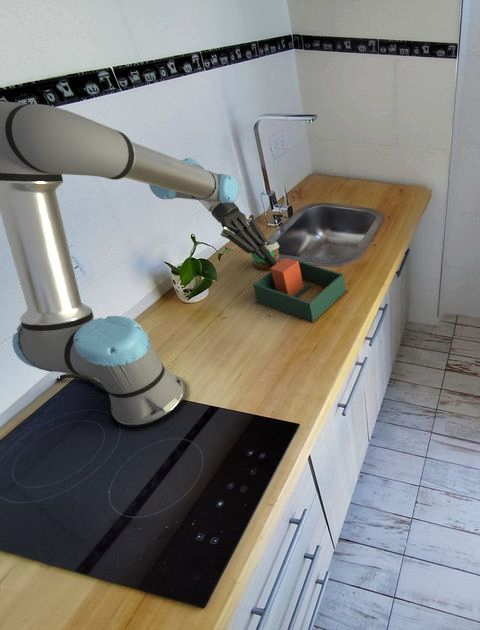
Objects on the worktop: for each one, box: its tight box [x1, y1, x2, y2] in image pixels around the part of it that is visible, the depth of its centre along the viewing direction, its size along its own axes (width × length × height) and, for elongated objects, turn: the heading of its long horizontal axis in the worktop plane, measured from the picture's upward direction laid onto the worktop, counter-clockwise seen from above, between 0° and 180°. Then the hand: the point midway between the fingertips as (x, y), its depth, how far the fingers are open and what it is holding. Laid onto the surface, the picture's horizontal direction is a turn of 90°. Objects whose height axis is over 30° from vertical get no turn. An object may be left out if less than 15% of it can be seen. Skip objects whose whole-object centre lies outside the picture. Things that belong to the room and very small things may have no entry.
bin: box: [252, 257, 347, 323], centre depth 128 cm, size 22×18×7 cm
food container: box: [250, 241, 281, 271], centre depth 141 cm, size 12×6×10 cm, turn 73°
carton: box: [270, 257, 305, 296], centre depth 129 cm, size 5×8×11 cm, turn 155°
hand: (273, 264), depth 128 cm, fingers closed
